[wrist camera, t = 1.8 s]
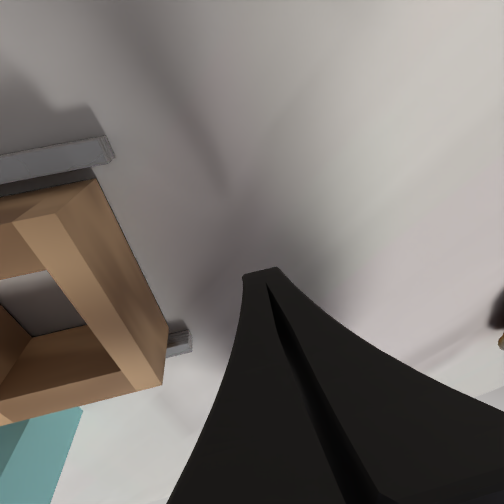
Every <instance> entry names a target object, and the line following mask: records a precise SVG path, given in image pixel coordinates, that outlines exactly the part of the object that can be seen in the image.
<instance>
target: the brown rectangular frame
mask: <svg viewBox="0 0 504 504" xmlns="http://www.w3.org/2000/svg"><path fill="white" fill-rule="evenodd" d="M43 270H47V271H48V272H49V274H50V275H51V276H52V278H53V279H54V280H55V282H56V283H57V284H58V286H59V287H60V288H61V290H62V291H63V292H64V294H65V295H66V297H67V298H68V299H69V301H70V302H71V303H72V305H73V306H74V307H75V309H76V310H77V311H78V313H79V314H80V315H81V317H82V318H83V319H84V321H85V322H86V324H87V325H84V326H80V327H76V328H71V329H67V330H63V331H58V332H54V333H50V334H46V335H41V336H37V337H33V338H32V337H31V336H30V335H29V334H28V333H27V332H26V331H25V330H24V329H23V328H22V327H21V326H20V325H19V324H18V323H17V321H16V320H15V319H14V318H13V317H12V316H11V315H10V314H9V313H8V312H7V311H6V310H5V309H4V308H3V307H2V306H1V305H0V426H3V425H7V424H11V423H15V422H19V421H23V420H27V419H31V418H35V417H39V416H43V415H47V414H50V413H54V412H58V411H62V410H66V409H70V408H74V407H78V406H82V405H86V404H90V403H94V402H98V401H101V400H105V399H109V398H113V397H117V396H121V395H125V394H129V393H133V392H137V391H141V390H145V389H149V388H152V387H156V386H160V385H162V382H163V374H164V366H165V357H166V349H167V341H168V332H169V327H168V325H167V323H166V321H165V319H164V317H163V315H162V313H161V311H160V309H159V307H158V305H157V303H156V301H155V299H154V297H153V295H152V292H151V290H150V288H149V286H148V284H147V282H146V280H145V278H144V276H143V274H142V272H141V270H140V268H139V266H138V264H137V262H136V260H135V258H134V256H133V254H132V251H131V249H130V247H129V245H128V243H127V241H126V239H125V237H124V235H123V233H122V231H121V229H120V227H119V225H118V223H117V221H116V219H115V217H114V215H113V213H112V210H111V208H110V206H109V204H108V202H107V200H106V198H105V196H104V194H103V192H102V190H101V188H100V186H99V184H98V182H97V180H96V178H95V179H90V180H85V181H80V182H74V183H69V184H64V185H59V186H54V187H49V188H44V189H39V190H34V191H29V192H24V193H19V194H13V195H8V196H3V197H0V280H2V279H7V278H11V277H16V276H20V275H25V274H30V273H34V272H39V271H43Z"/></svg>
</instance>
